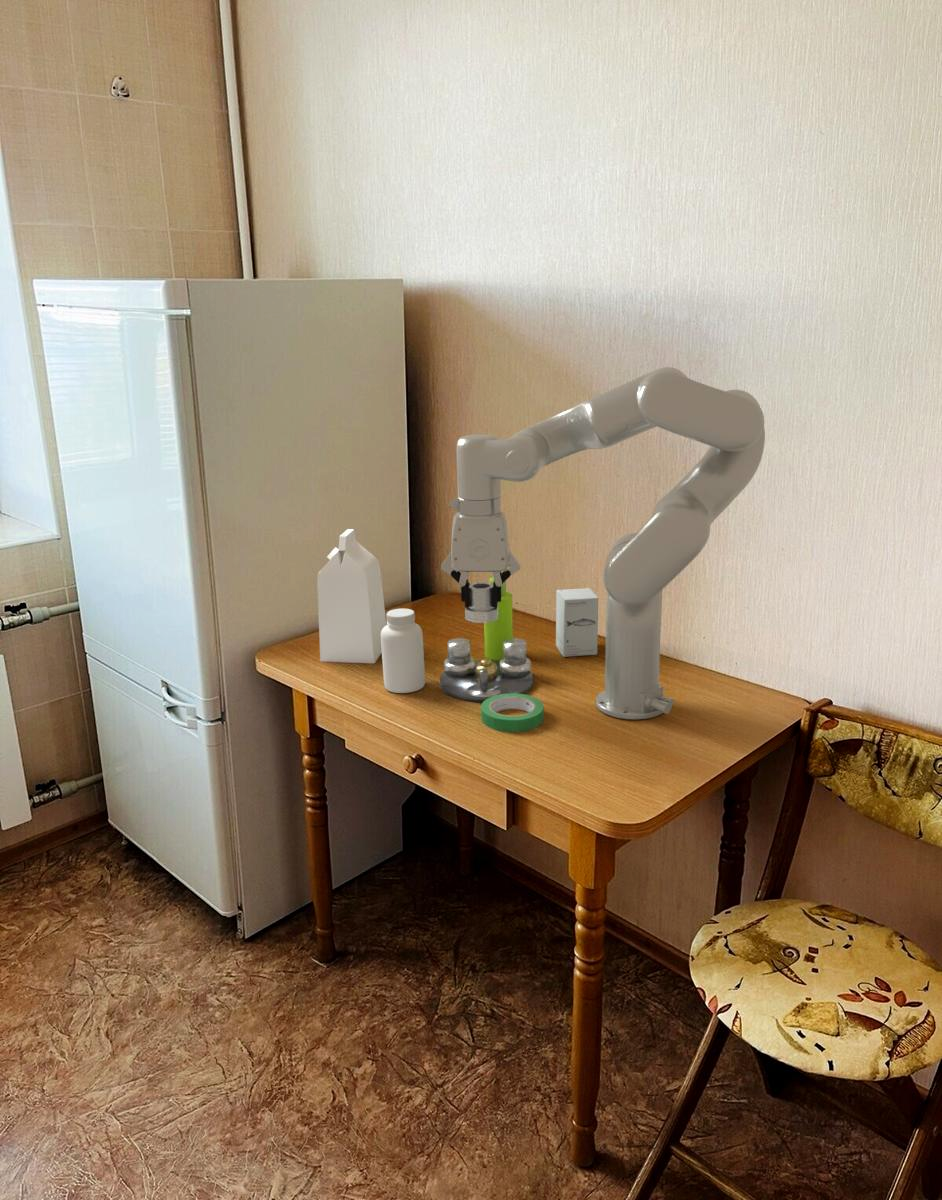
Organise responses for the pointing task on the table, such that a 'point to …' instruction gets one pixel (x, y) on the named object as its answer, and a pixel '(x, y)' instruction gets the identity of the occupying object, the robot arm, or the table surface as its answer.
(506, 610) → the soap dispenser
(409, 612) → the pill bottle
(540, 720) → the tape roll
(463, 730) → the table surface
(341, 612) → the milk
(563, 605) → the supplement box
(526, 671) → the carrier
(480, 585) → the octagonal collar pipe
